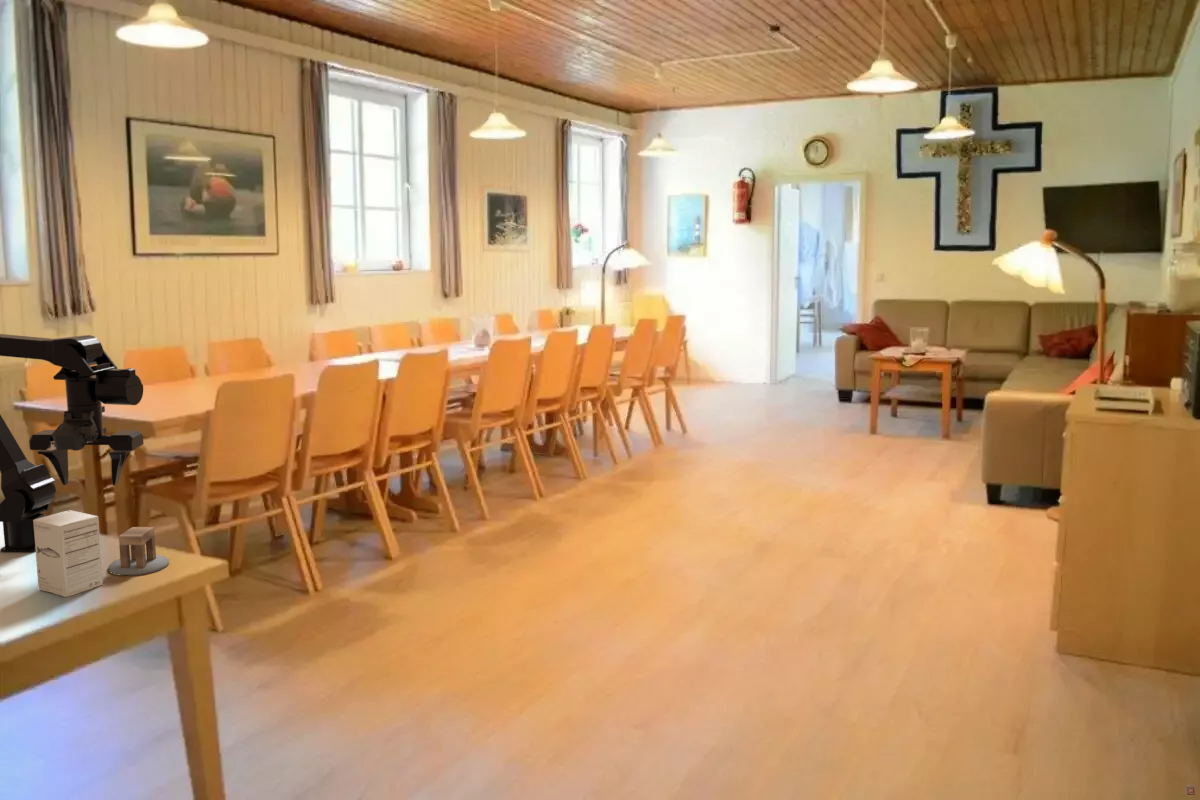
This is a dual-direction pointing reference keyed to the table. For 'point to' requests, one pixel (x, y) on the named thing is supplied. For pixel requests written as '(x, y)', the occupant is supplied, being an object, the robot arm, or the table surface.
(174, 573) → the table surface
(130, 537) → the walnut stool
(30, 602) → the table surface
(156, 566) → the slate mat
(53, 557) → the supplement box
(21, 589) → the table surface
